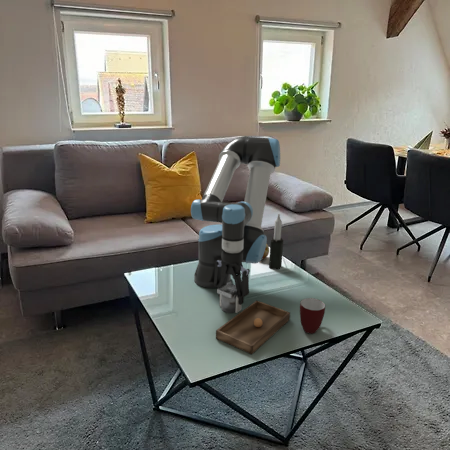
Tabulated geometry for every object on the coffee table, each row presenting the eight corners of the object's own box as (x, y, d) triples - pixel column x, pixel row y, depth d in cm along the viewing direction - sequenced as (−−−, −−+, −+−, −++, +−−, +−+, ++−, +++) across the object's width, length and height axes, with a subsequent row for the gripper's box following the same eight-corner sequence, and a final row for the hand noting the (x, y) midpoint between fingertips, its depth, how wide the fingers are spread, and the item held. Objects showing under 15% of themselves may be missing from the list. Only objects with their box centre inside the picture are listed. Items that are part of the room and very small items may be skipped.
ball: (259, 329, 137) (262, 321, 136) (251, 325, 138) (254, 317, 137) (261, 327, 140) (265, 319, 139) (253, 323, 141) (257, 315, 140)
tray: (215, 338, 133) (216, 330, 132) (256, 307, 152) (256, 300, 151) (251, 354, 126) (252, 346, 125) (289, 320, 145) (290, 312, 144)
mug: (302, 318, 146) (305, 292, 143) (325, 323, 143) (328, 298, 140) (295, 333, 137) (297, 307, 134) (319, 339, 134) (322, 312, 131)
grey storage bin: (216, 310, 150) (216, 289, 147) (229, 301, 156) (230, 281, 153) (230, 316, 146) (231, 294, 143) (243, 307, 152) (244, 286, 149)
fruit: (258, 263, 190) (258, 246, 187) (249, 256, 197) (250, 240, 194) (272, 260, 193) (273, 244, 190) (263, 254, 200) (264, 238, 197)
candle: (281, 265, 188) (285, 212, 180) (279, 270, 183) (283, 216, 175) (270, 263, 189) (274, 211, 181) (268, 268, 185) (271, 214, 177)
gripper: (203, 245, 146) (203, 303, 153) (250, 260, 135) (247, 321, 143) (216, 239, 152) (215, 296, 159) (262, 253, 141) (258, 312, 149)
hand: (230, 307), depth 151 cm, fingers closed on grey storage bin, 6 cm apart
